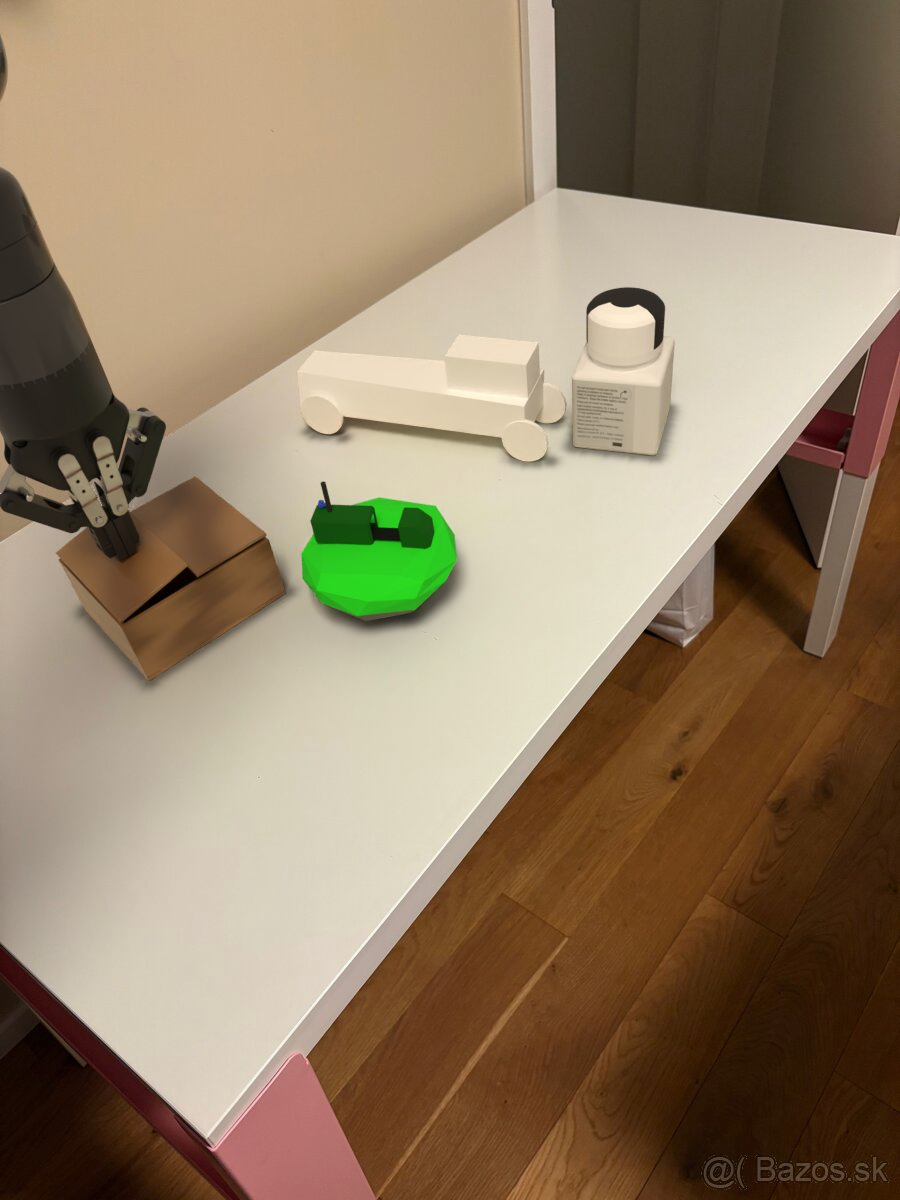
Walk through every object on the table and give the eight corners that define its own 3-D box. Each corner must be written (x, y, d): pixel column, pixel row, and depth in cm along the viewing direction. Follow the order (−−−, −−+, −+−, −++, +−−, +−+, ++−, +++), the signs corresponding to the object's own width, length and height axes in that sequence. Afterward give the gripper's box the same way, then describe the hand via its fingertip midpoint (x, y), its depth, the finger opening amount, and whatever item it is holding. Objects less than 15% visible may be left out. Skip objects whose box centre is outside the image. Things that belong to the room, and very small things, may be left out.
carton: (148, 681, 72) (118, 621, 67) (86, 611, 78) (54, 552, 74) (286, 593, 77) (266, 532, 73) (217, 534, 84) (195, 475, 79)
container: (589, 401, 92) (590, 274, 83) (670, 408, 90) (679, 279, 81) (571, 448, 87) (569, 319, 78) (656, 457, 85) (665, 326, 76)
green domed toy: (297, 646, 73) (263, 539, 65) (336, 544, 81) (309, 438, 73) (450, 656, 71) (434, 546, 63) (474, 549, 79) (462, 441, 71)
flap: (121, 623, 68) (118, 621, 67) (57, 555, 74) (55, 552, 74) (188, 565, 69) (186, 563, 69) (120, 503, 75) (118, 500, 75)
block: (143, 644, 74) (126, 609, 71) (119, 619, 77) (101, 584, 74) (187, 617, 76) (171, 581, 73) (162, 593, 78) (146, 558, 75)
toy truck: (567, 422, 90) (566, 335, 84) (546, 467, 86) (543, 379, 79) (331, 393, 98) (313, 311, 91) (301, 432, 93) (280, 349, 87)
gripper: (-54, 417, 54) (64, 624, 66) (148, 323, 60) (223, 530, 72) (-98, 372, 58) (21, 574, 71) (95, 287, 64) (174, 488, 76)
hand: (123, 551), depth 71 cm, fingers closed
